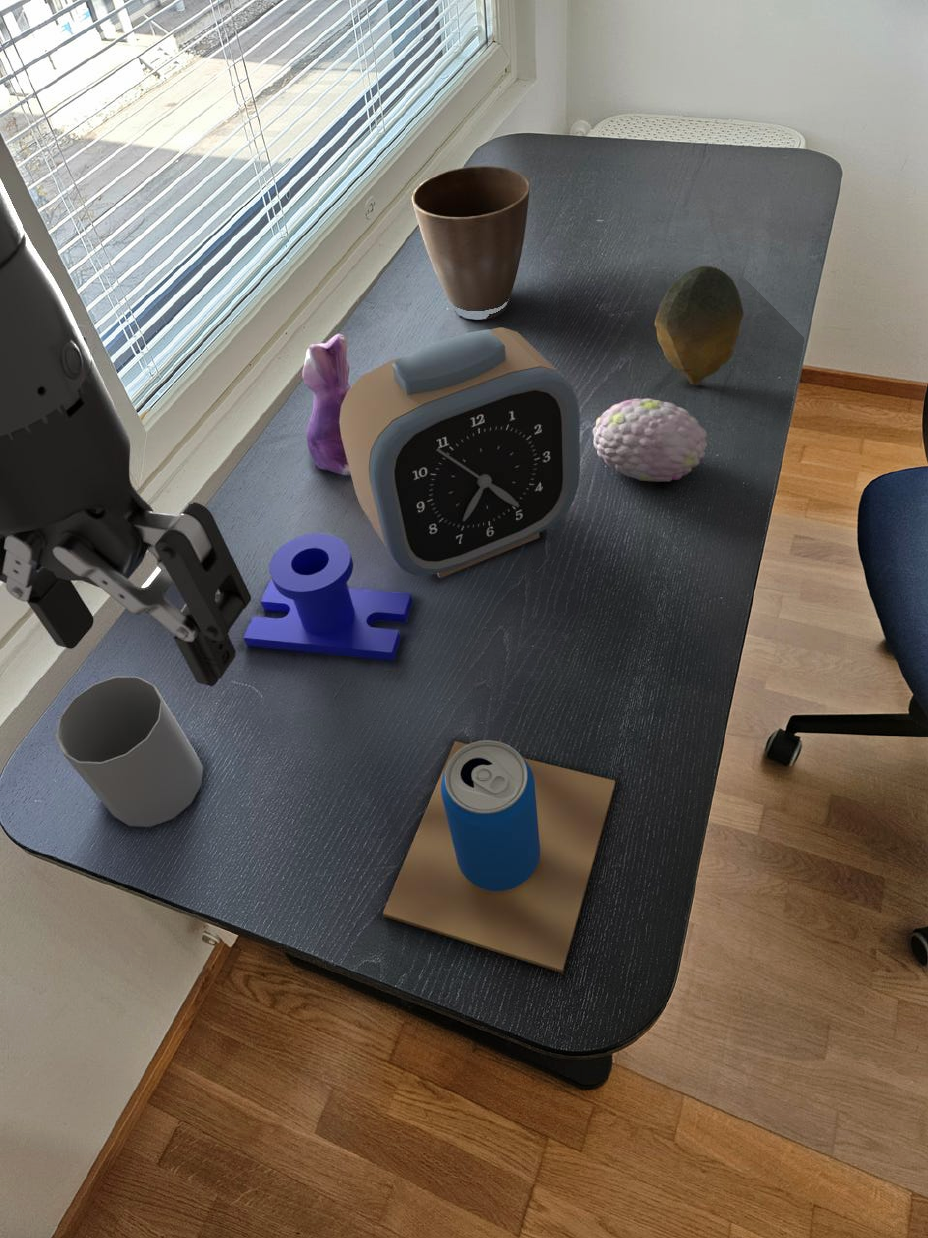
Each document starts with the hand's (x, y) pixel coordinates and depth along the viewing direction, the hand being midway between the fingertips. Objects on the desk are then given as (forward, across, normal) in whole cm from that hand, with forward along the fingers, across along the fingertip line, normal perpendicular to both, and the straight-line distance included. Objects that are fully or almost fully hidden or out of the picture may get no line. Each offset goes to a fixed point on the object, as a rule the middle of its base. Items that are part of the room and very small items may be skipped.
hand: (146, 653), depth 45 cm
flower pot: (+31, -16, +86) cm, 93 cm away
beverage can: (+31, +14, +9) cm, 35 cm away
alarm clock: (+31, -1, +43) cm, 53 cm away
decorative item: (+31, +14, +58) cm, 67 cm away
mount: (+31, -10, +27) cm, 43 cm away
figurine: (+31, -21, +52) cm, 64 cm away
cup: (+32, -17, +6) cm, 36 cm away
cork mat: (+31, +14, +10) cm, 36 cm away
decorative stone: (+31, +16, +74) cm, 82 cm away
